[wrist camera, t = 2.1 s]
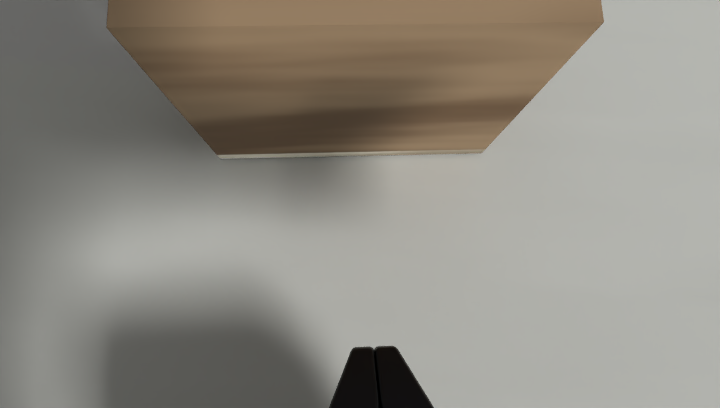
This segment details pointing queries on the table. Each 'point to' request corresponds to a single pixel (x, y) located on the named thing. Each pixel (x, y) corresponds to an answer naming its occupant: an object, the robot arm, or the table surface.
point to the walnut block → (351, 69)
